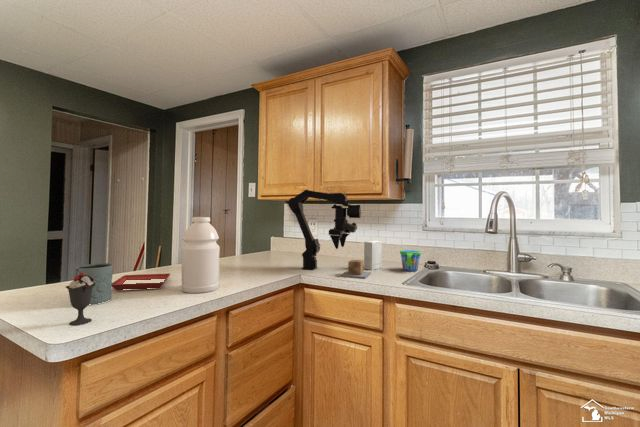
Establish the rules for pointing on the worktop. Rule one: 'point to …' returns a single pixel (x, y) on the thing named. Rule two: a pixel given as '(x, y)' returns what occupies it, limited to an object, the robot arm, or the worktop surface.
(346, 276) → the slate mat
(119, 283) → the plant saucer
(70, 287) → the sundae
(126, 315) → the worktop surface
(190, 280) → the bottle
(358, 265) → the walnut cube
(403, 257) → the snack cup
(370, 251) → the skincare box
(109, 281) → the blue-grey pot
